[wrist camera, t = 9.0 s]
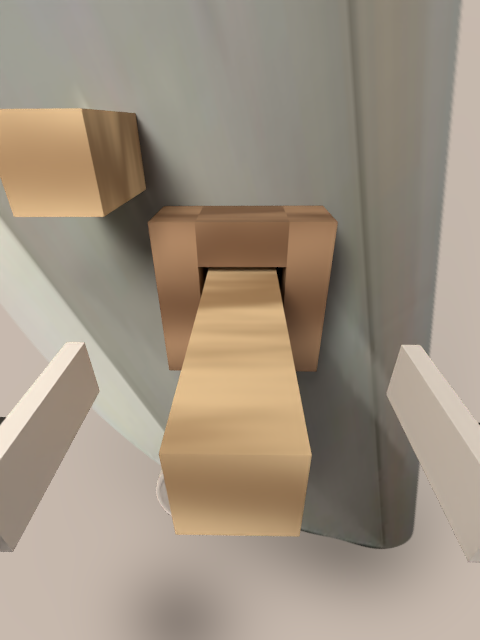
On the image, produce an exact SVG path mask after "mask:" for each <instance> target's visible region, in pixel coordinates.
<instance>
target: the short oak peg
mask: <svg viewBox="0 0 480 640" xmlns="http://www.w3.org/2000/svg"><path fill="white" fill-rule="evenodd" d="M0 177H1V180H2V183H3V186H4V189H5V192H6V195H7V198H8V200H9V203H10V206H11V209H12V212H13V215H14V217H104V216H106V215H107V214H109V213H110V212H112V211H114V210H115V209H117V208H118V207H120V206H121V205H123V204H124V203H126V202H127V201H129V200H130V199H132V198H134V197H135V196H137V195H138V194H140V193H141V192H143V191H144V190H146V185H145V178H144V171H143V164H142V156H141V149H140V142H139V135H138V128H137V121H136V114H135V113H126V112H115V111H104V110H92V109H0Z"/></svg>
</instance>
